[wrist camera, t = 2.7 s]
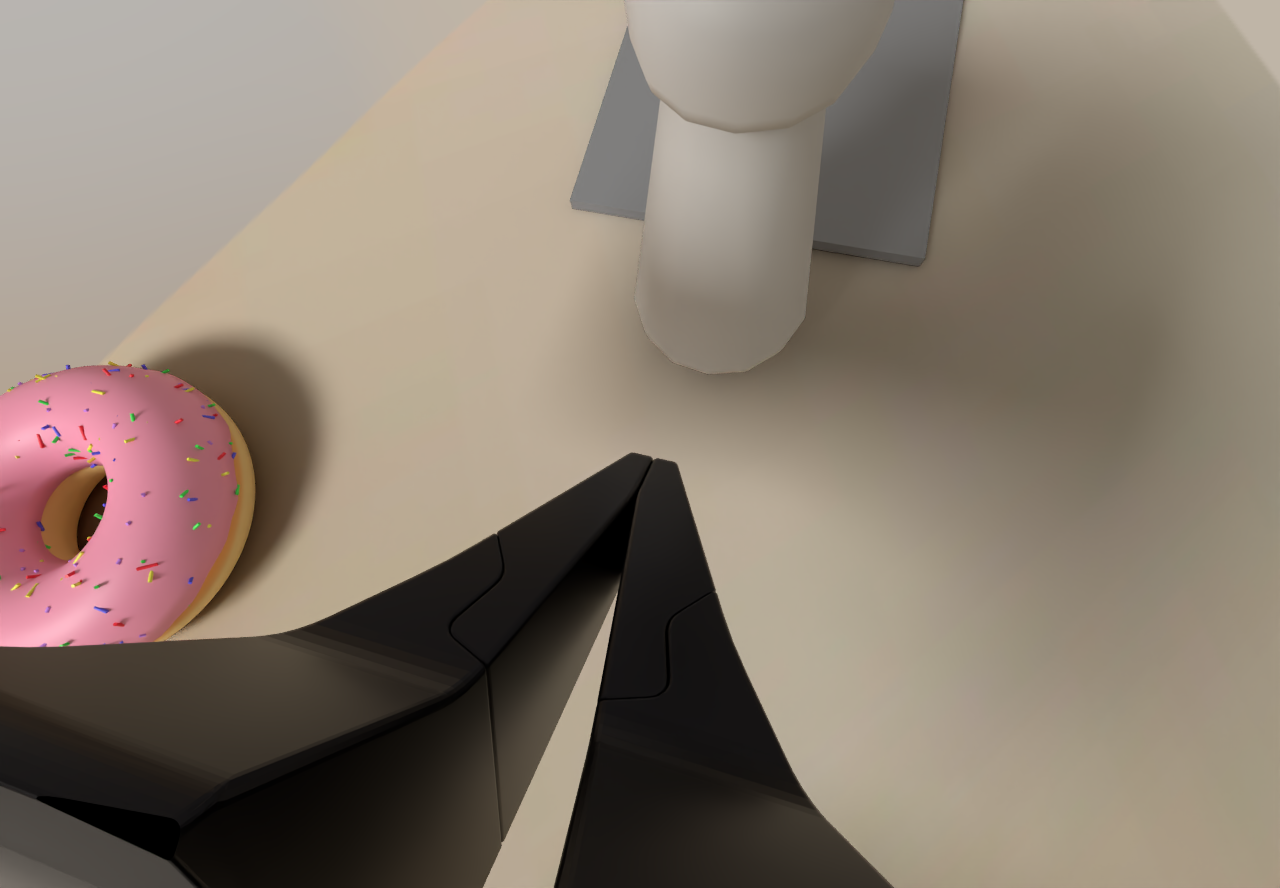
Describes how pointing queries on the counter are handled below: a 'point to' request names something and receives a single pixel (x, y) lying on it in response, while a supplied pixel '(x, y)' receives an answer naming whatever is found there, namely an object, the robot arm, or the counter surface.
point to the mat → (852, 140)
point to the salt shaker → (738, 165)
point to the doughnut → (116, 506)
